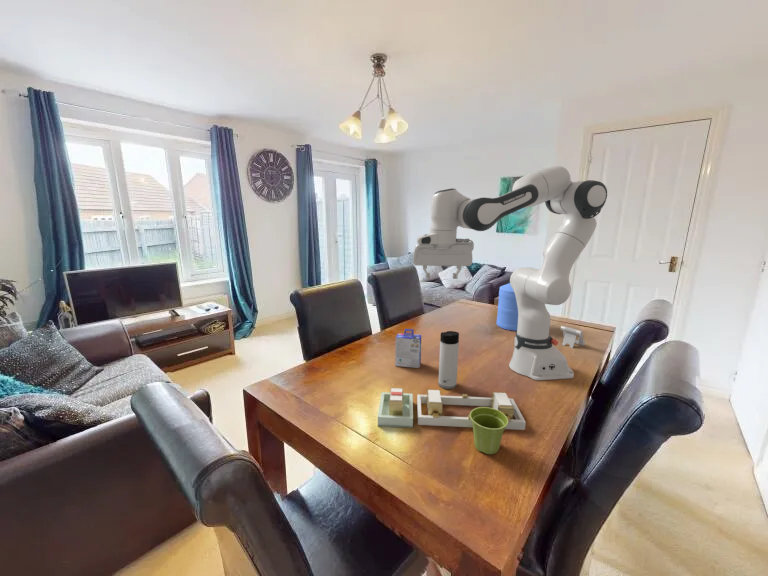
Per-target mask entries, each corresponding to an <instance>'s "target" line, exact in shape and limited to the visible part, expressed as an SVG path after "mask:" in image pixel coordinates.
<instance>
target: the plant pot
mask: <svg viewBox="0 0 768 576" xmlns="http://www.w3.org/2000/svg"><path fill="white" fill-rule="evenodd" d="M469 415H470V419H471V421H472V424H473V427H472V431H473V441H474V443H473V444H474V447H475V448H476V450H478V452H482V453H484V454H485V455H486V454H487V455H495V454H497V453H498V451H499V450H500V448H501V447H500V446H501V442H502V439H503V434H504V431H505V430H506V429H505V427H506V426H507V425H508V418H507V417H506V416H505V414H503V413H502V412H501V411H499V410H496V409H493V408H491V407H490V406H477V407H475V408H473V409H472V410H471V411H469Z"/></svg>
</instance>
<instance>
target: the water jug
mask: <svg viewBox="0 0 768 576" xmlns="http://www.w3.org/2000/svg"><path fill="white" fill-rule="evenodd" d="M497 302H498V304H497V314H496V315H497V316H496V321H495V322H496V326H498V327H499V328H501V329H504V330H508V331H515V332H516V331H517V326H518V306H517V301H516V296H515V292H514V290H513V288H512V287H511V284H510V282H508V283H506V284H504V285H501V286H499V291H498V301H497Z"/></svg>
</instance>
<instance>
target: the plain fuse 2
mask: <svg viewBox="0 0 768 576" xmlns="http://www.w3.org/2000/svg"><path fill="white" fill-rule="evenodd" d="M491 393H492V395H491V398H492V402H491V407H490V408H493V409H496V410H499V411H501V412H502V413H503V414H505V416H508V417H510V419H514V415H513V411H514V408H513V406H512V404H511V402H510V400H509V397H508V395H507V393H506V392H503V391H502V392H501V391H492V392H491Z"/></svg>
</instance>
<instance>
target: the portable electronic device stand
mask: <svg viewBox="0 0 768 576" xmlns="http://www.w3.org/2000/svg"><path fill="white" fill-rule="evenodd" d="M560 331H562V334H563V340H562V343H561V344H562V345H561V346H564V347H565V346H566V345H567V344H568V345H569V348H570V349H573V348H574V346H575V344H576V345H580V346H583V347H585V345H586V340H584V331H583V330H579V329H577V328H572V327H569V326H565V325H561V326H560ZM577 337H578V339H577Z"/></svg>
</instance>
